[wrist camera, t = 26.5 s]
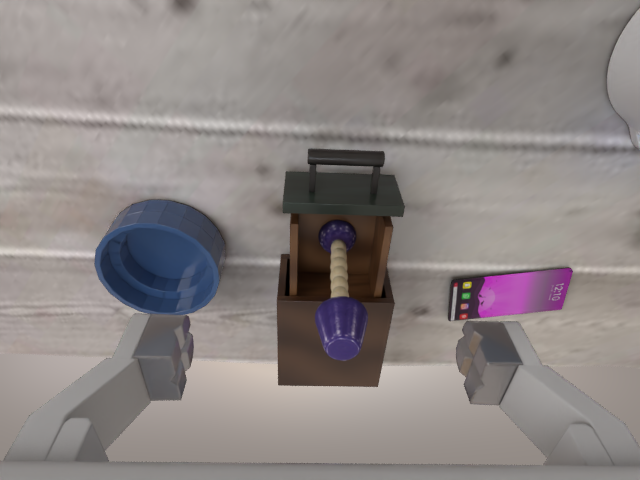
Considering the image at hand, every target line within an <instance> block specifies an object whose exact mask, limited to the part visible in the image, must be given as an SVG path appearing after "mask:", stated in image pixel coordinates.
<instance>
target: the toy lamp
mask: <svg viewBox="0 0 640 480" xmlns="http://www.w3.org/2000/svg"><path fill="white" fill-rule="evenodd" d="M318 238H319V242H320V244H321V246H322V247H323V249H325V250H326V251H327V252H329V253H331V265H330V269H331V274H330V278H331V291H332V293H331V298H329V299H328V300H326V301H324V302H323V303H322V304H320V306H319V307H318V308H317V310H316V313H315V323H316V326H317V329H318V332H319V335H320V338H321V341H322V344H323V347H324V350H325V352H326V353H327V354H328V355H329V356H330V357H331V358H333V359H336V360H349V359H352V358H354V357H355V356H356V355H357V354H358V353H359V352H360V350H361V347H362V343H363V339H364V335H365V331H366V327H367V322H368V313H367V310H366V308H365V307H364V305H363V304H362V303H361V302H359V301H358V300H356V299H354V298H351V297H349V294H348V282H347V280H348V274H347V262H346V261H347V255H346V252H348V251H349V250H350V249H351V248H352V247H353V246H354V244H355V241H356V231H355V229H354V227H353V226H352V225H351V224H349V223H348V222H345V221H342V220H334V221H330V222H328V223H326V224H324V225H323V226H322V227H321V229H320V231H319V235H318Z"/></svg>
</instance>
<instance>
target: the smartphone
mask: <svg viewBox="0 0 640 480" xmlns="http://www.w3.org/2000/svg"><path fill="white" fill-rule="evenodd" d="M572 272H573V271H572V269H571V268H560V269H550V270H541V271H532V272H522V273H513V274H503V275H494V276H484V277H475V278H465V279H456V280H453V281H452V282H451V290H450V302H449V313H448V320H449V321H455V320H465V319H475V318H484V317H494V316H504V315H514V314H523V313H533V312H543V311H553V310H561V309H562V306H563V303H564V300H565V296H566V293H567V289H568V286H569V283H570V279H571V276H572Z"/></svg>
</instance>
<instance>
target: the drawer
mask: <svg viewBox="0 0 640 480" xmlns="http://www.w3.org/2000/svg"><path fill="white" fill-rule="evenodd" d="M384 160H385V154H384V152H383V151H359V150H332V149H308V164H310V171H309V172H286V176H285V186H284V195H283V213H291V220H290V296H305V297H331V293H332V291H331V278H330V274H331V269H330V265H331V253H329V252H327V251H326V250H325V249H323V247H322V246H321V244H320V242H319V238H318V235H319V231H320V229H321V227H322V226H323V225H324V224H326V223H328V222H330V221H334V220H342V221H345V222H348V223H349V224H351V225H352V226H353V227H354V229H355V231H356V241H355V244H354V246H353V247H352V248H351V249H350V250H349V251H348V252H346V255H347V261H346V262H347V274H348V280H347V282H348V294H349V297H351V298H381V294H382V289H383V283H384V277H385V271H386V266H387V260H388V254H389V248H390V243H391V237H392V231H393V225H392V221H391V217H390V216H396V217H403V213H404V208H405V206H404V203H403V200H402V197H401V194H400V191H399V188H398V185H397V182H396V179H395V176H394V175H380V167H383V165H384ZM316 164H319V165H347V166H373V173H372V174H343V173H316Z"/></svg>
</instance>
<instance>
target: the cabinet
mask: <svg viewBox="0 0 640 480" xmlns="http://www.w3.org/2000/svg"><path fill="white" fill-rule="evenodd" d="M329 298H331V297H305V296H290V254H281V262H280V273H279V284H278V295H277V334H278V385H290V386H363V387H378V383H379V378H380V373H381V368H382V363H383V358H384V353H385V348H386V344H387V339H388V334H389V329H390V324H391V319H392V314H393V309H394V304H395V303H394V299H393V294H392V289H391V285H390V280H389V276H388V271H387V267H386V271H385V277H384V283H383V289H382V294H381V298H354V299H356V300H358V301H359V302H361V303H362V304H363V305H364V307H365V308H366V310H367V313H368V322H367V327H366V331H365V335H364V339H363V343H362V347H361V350H360V352H359V353H358V354H357V355H356V356H355V357H354V358H352V359H349V360H336V359H333V358H331V357H330V356H329V355H328V354H327V353H326V352H325V350H324V347H323V344H322V341H321V338H320V335H319V332H318V329H317V326H316V323H315V313H316V310H317V308H318V307H319V306H320V304H322V303H323V302H324V301H326V300H328V299H329Z"/></svg>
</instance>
